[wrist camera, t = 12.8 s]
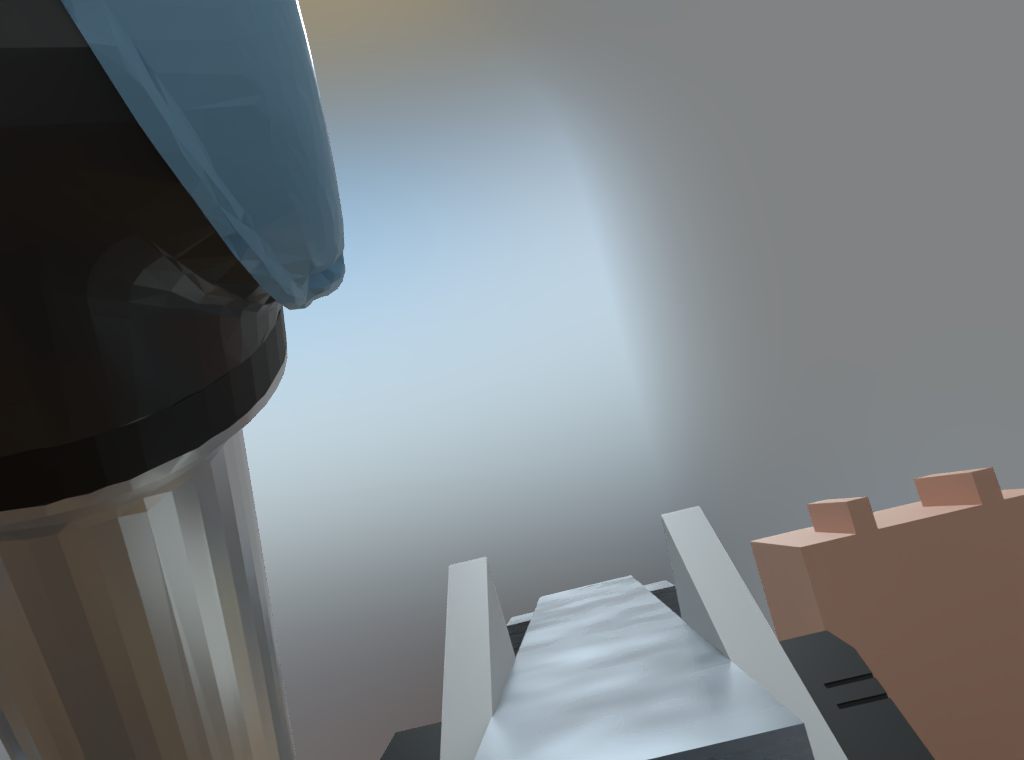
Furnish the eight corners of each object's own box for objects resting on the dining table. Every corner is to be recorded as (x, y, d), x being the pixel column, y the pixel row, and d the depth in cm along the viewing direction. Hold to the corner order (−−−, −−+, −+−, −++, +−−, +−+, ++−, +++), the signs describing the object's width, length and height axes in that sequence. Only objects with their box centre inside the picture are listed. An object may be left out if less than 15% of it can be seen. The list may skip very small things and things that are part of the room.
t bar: (406, 1246, 7) (333, 834, 8) (530, 699, 29) (508, 604, 30) (1064, 1102, 7) (930, 692, 8) (688, 661, 29) (662, 567, 29)
